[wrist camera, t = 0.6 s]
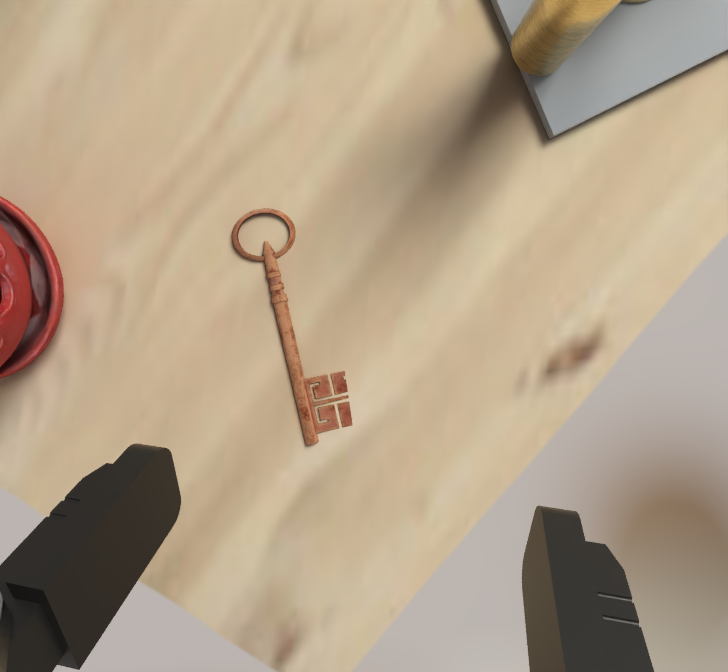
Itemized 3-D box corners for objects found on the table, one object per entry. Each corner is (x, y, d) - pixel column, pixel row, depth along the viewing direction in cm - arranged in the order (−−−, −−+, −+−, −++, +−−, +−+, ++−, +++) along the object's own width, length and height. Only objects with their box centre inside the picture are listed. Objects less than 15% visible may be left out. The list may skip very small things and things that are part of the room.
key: (369, 427, 33) (320, 197, 31) (370, 431, 32) (320, 195, 30) (282, 446, 33) (227, 216, 31) (281, 451, 32) (224, 214, 30)
